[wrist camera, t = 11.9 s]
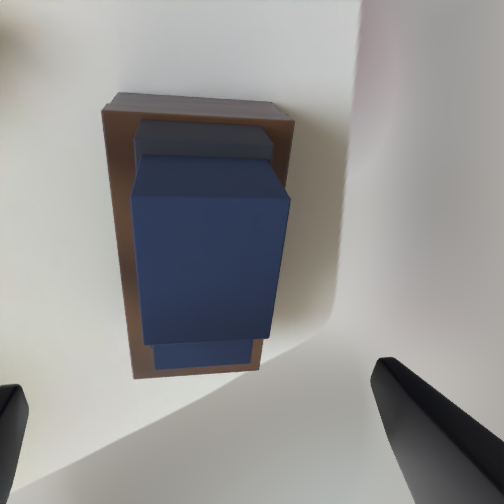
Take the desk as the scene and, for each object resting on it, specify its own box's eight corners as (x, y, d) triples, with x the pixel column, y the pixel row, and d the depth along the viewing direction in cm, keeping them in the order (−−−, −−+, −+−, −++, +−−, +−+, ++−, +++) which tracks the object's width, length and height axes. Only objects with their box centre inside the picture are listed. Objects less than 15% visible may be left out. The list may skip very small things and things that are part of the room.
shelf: (117, 89, 16) (100, 110, 13) (272, 99, 18) (295, 120, 14) (139, 326, 24) (132, 380, 20) (248, 320, 25) (259, 370, 21)
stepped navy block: (139, 118, 13) (117, 176, 8) (261, 125, 14) (302, 180, 9) (153, 311, 18) (143, 417, 13) (243, 308, 19) (264, 405, 14)
